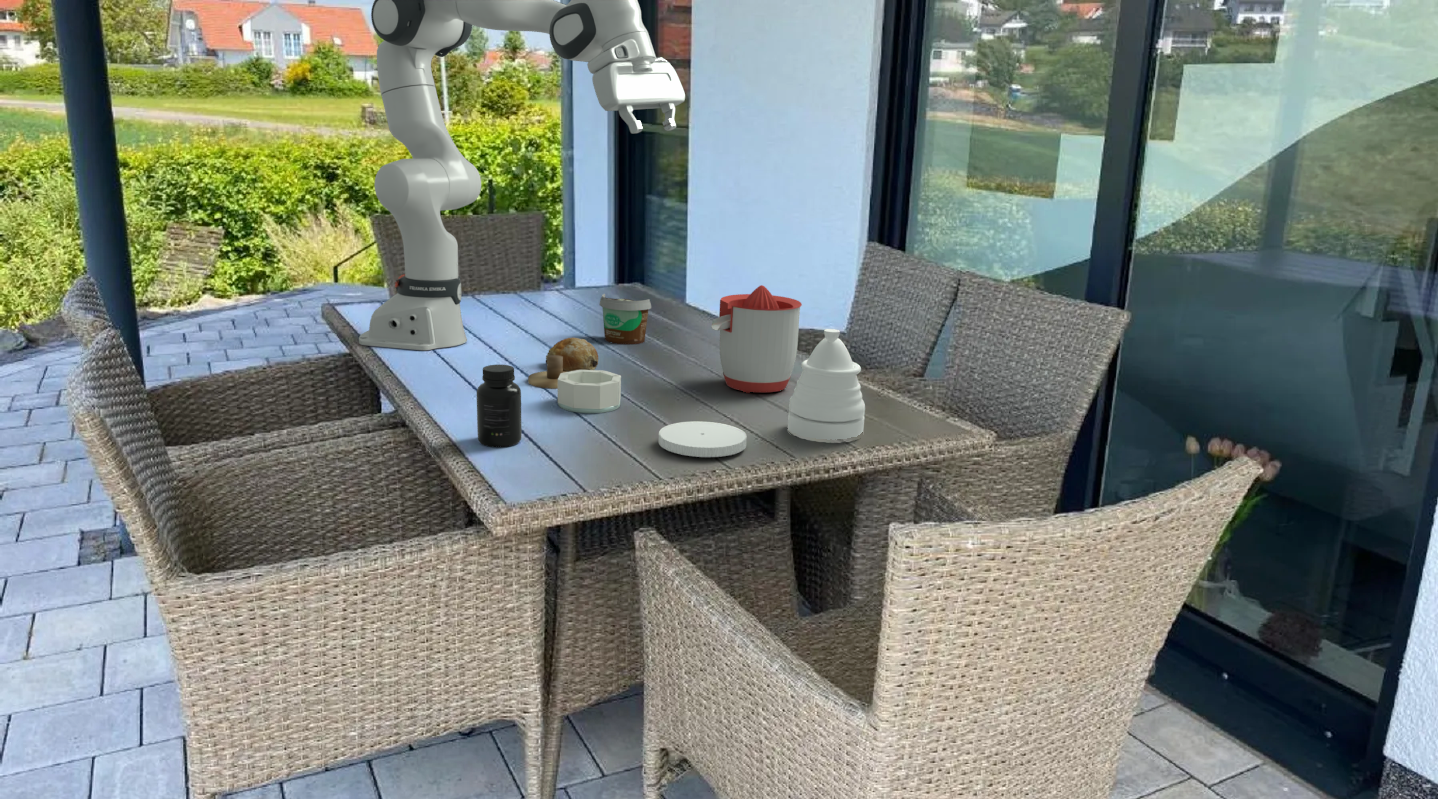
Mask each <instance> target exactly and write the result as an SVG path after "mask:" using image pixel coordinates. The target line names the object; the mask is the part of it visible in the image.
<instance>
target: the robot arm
mask: <svg viewBox="0 0 1438 799" xmlns="http://www.w3.org/2000/svg"><path fill="white" fill-rule="evenodd" d="M370 20H371V24H372V27H373V29H374V32H375V33H376V35H377V36H378V37H379V38H380V39H382V40H383V41H382V42H381V43H380V44H379V45H378V46H377V49H376V68H377V78H378V83H379V90H380V95H381V99H382V104H383V108H384V111H385V113H384V114H385V116H386V121H387V125H388V129H389V131H390V134H391V135H392V136H393V137H394V138H395V139H396V140H397V141H398V142H400V143H402V145H403V146H404V147H405V148H406V149H407V150H408V152H409V153H410V156H411V157H412V158H401V159H398V160H394V161H392V162H389V163H386V164H384V165H382V166H381V167H380V168H379V169H378V170H377V173H376V175H375V178H374V192H375V195H376V197H377V199H378V201H379V203H380V204H381V205H382V206H383V208H385V209H386V210H387V211H388V212H389V213H390V214H391V215H392V217H393V218H394V220H395V223H396V224H397V226H398V229H399V231H400V234H401V239H402V243H403V244H402V245H403V258H404V259H403V260H404V273H403V274H401V275H400V276H398V278H397V279H396V280H395V282H394V287H395V290H396V292H397V293H396V294H394V295H393V296H392V297H390V298H389V299H388V300H386V301H385V302H384V303H383V304H381V305H380V306H379V307H377V308H376V309H375V310H374V311H373V312H372V314H371V317H370V323H369V328H368V329H369V330H366V331H365V332H363V333H362V334H360V335H359V337H358V343H359V345H361V346H369V347H379V348H380V347H381V348H392V349H404V350H413V351H414V350H415V351H416V350H417V351H429V350H436V349H441V348H450V347H456V346H459V345H463V344H464V343H466V342H468V338H467V335H466V332H465V327H464V324H463V318H462V312H461V304H460V303H461V302H462V282H461V277H460V276H459V246H458V245H459V244H458V241H457V238H456V237H455V236H454V235H453V234H451V233H450V232H449V231H448V230H446V227H445V226H444V223H443V220H442V216H441V211H450V210H453V211H454V210H458V209H460V208H464V207H465V206H468V205H470V204H472V203H474V202H475V201H477V199H478V198H479V197H480V196H479V195H480V193H481V191H482V190H481V189H482V178H481V175H480V173H479V170H478V169H477V168H476V166H475V165H474V164H473V163H471V162H470V161H469V160H468V159H467V158H465V157H464V155H463V154H462V153H461V152H460V150H459V149H458V147H457V146H456V143H454V140H453V138H452V136H451V135H450V133H449V131H448V129H447V126H446V123H445V121H444V117H443V113H442V110H441V104H440V102H439V98H438V94H437V93H438V92H437V88H436V84H435V80H434V76H433V72H432V71H433V70H432V61H433V57H434V56H438V57H440V58H444V57H446V56H448V54H450V53H451V52H452V51H453V50H456V49H457V48H459V47H461V46H463V45H464V44H465V43H466V42H467V41H468V39H469V38H470V36H471V33H472V30H473V27H474V26H475V27H478V28H482V29H487V30H493V31H505V32H507V31H509V32H510V31H511V32H534V33H542V34H547V35H549V40H550V44H551V46H552V48H553V50H554V52H555V54H557V55H558V56H559V57H560V58H562V59H565V60H569V61H572V62H573V61H574V62H583V63H584V62H585V63H587V64H586V65H587V68H588V71H589V73H590V74H592V78H591V79H592V86H593V89H594V91H595V96H596V97H597V101H598V103H599V106H600V107H601V108H602V109H603V110H604V111H605V112H612V111H613V112H614V111H615V112H617V111H618V114H619V116H620V117H621V119H622V120H623V121H624V122H625V123H626V125H627V126H628V129H629V132H630V134H639V133H641V132H642V131H643V126H642V122H641V120H637V118H636V117H635V115H634V114H633V111H634V110H646V109H647V110H648V109H652V110H653V109H661V112H662V114H664V121H662V122H661V123H662V125H663V129H664V130H665V131H667V132H669V131H673V130H675V129H676V128H677V123H676V121H675V120H676V119H675V116H676V115H675V114H676V107H677V106H679V105H680V104H682V103H684V102H685V99H686V94H685V90H684V87H683V85H682V83H681V80H680V78H679V75H678V74H677V72H676V71H677V70H675V68H674V66H672V65H671V62H669V61H668V60H666V59H665V58H664V57H662V56H656V53H655V50H654V47H653V44H652V40H651V37H650V35H649V34H650V33H649V31H648V30H647V28H646V26H645V25H644V23H643V19H642V10H641V7H640V4H639V1H638V0H570V1H569V2H568V3H567V4H565V3H563V2H560V1H557V0H374V1H373V4H372V6H371V14H370Z"/></svg>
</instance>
